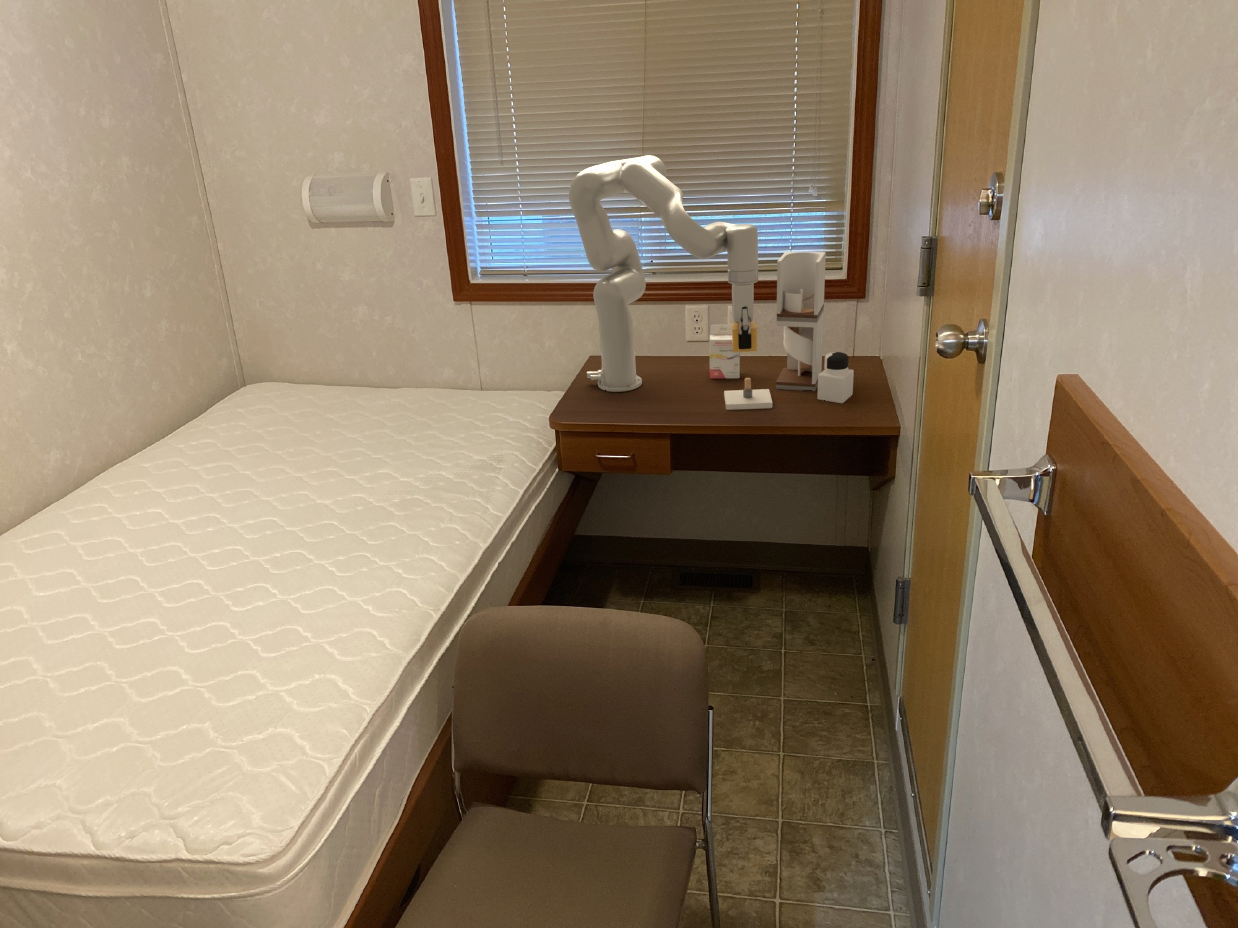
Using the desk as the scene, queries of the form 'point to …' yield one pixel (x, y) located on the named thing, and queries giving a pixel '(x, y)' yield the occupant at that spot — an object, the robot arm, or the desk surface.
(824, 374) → the medicine bottle
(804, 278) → the spiral ramp tower
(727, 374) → the ink cartridge box
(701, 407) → the desk surface
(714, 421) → the desk surface
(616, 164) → the robot arm
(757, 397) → the mount plate
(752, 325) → the orange cube block
